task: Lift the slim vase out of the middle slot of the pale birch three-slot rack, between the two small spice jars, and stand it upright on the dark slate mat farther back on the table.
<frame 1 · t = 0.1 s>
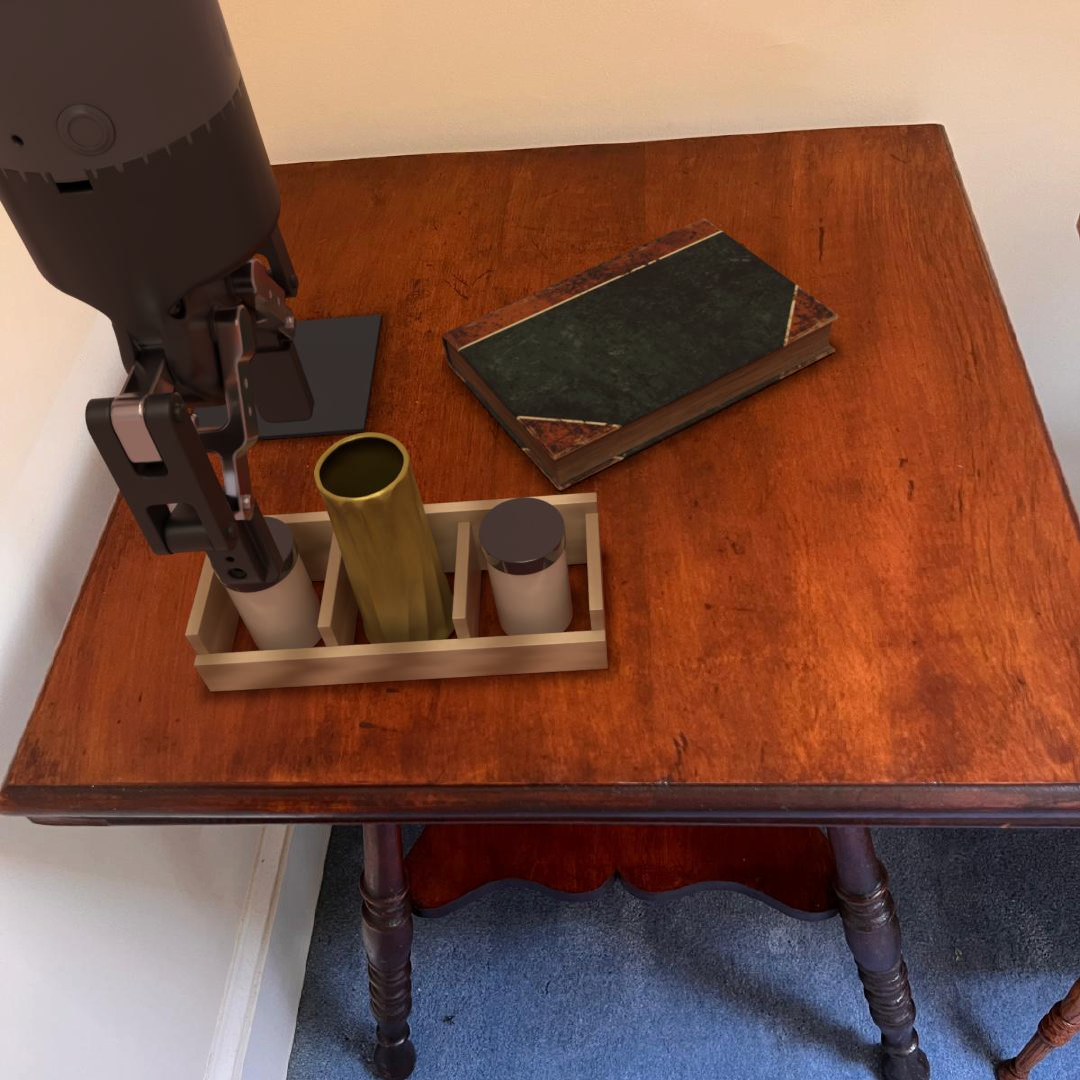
hand: (274, 491, 41), 24 cm above the table, tool pointing down, fingers open, 8 cm apart
vase: (412, 622, 67), resting in rack
mat: (288, 378, 84), on the table
spice jar left: (290, 628, 67), resting in rack
book: (636, 361, 81), on the table
rack: (411, 620, 66), on the table
spice jar right: (535, 612, 66), resting in rack
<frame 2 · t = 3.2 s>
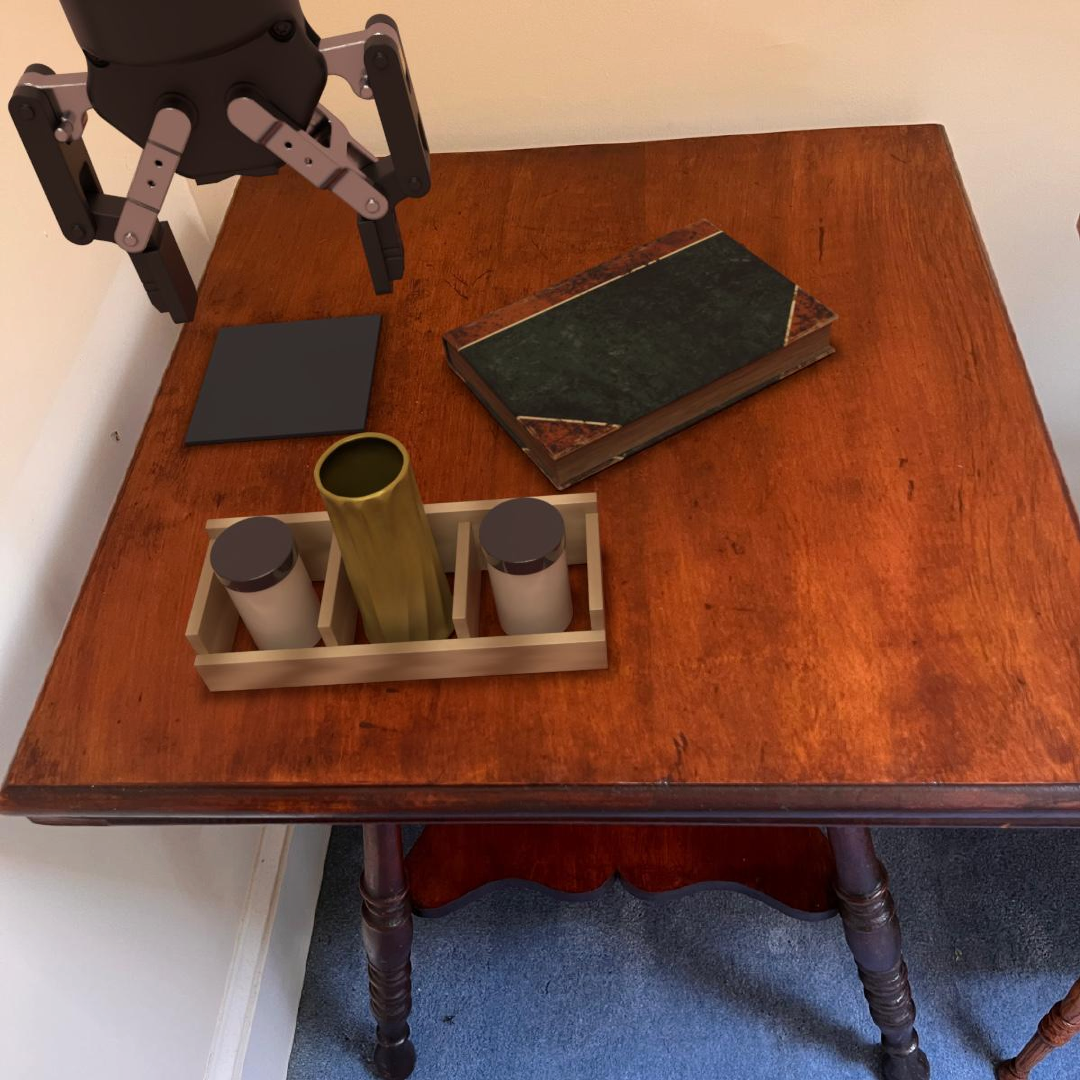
hand: (286, 298, 44), 27 cm above the table, tool pointing down, fingers open, 8 cm apart
nothing on the table moved.
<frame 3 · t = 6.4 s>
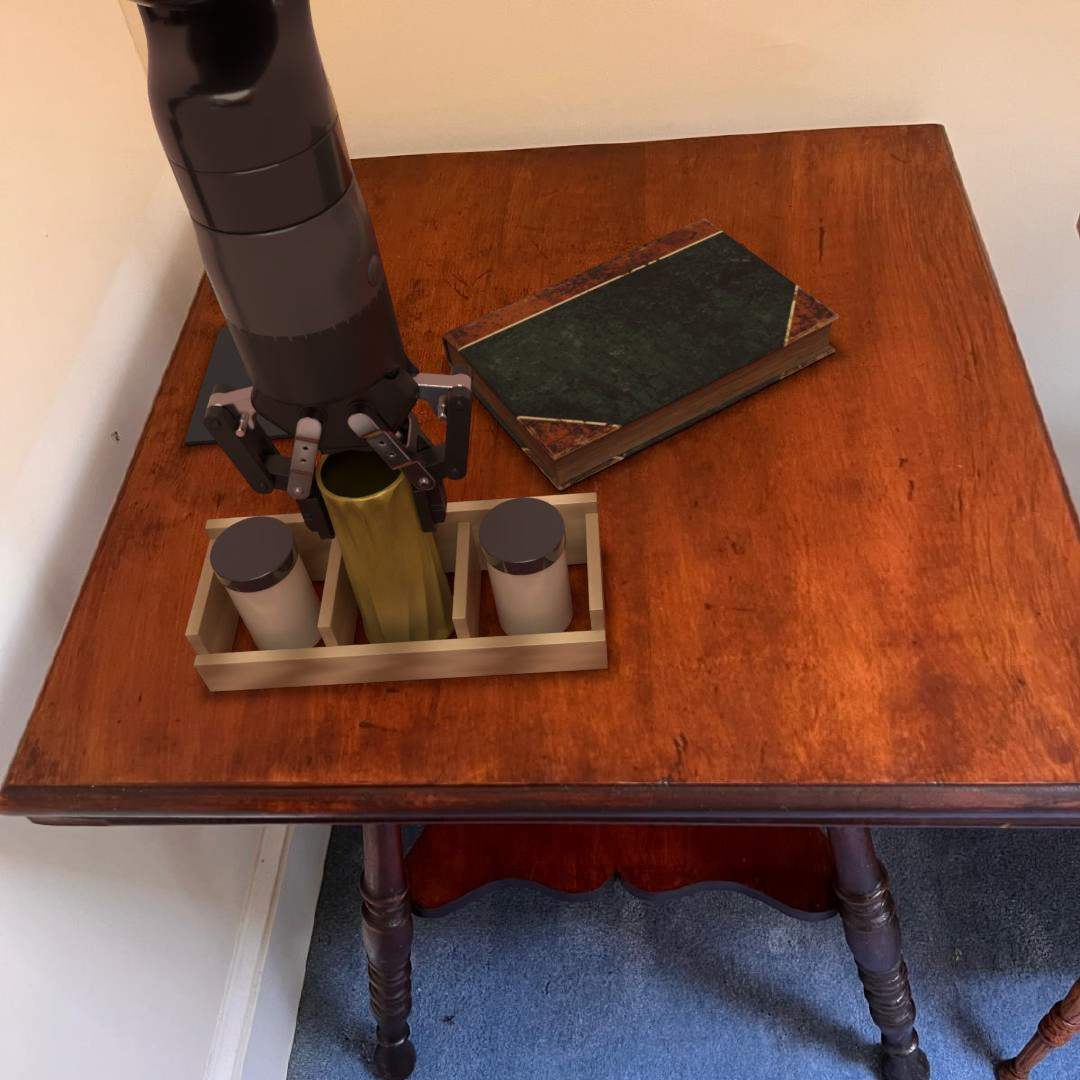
hand: (380, 523, 59), 9 cm above the table, tool pointing down, fingers closed on vase, 5 cm apart
vase: (412, 622, 67), resting in rack, touching gripper
everything else where it was.
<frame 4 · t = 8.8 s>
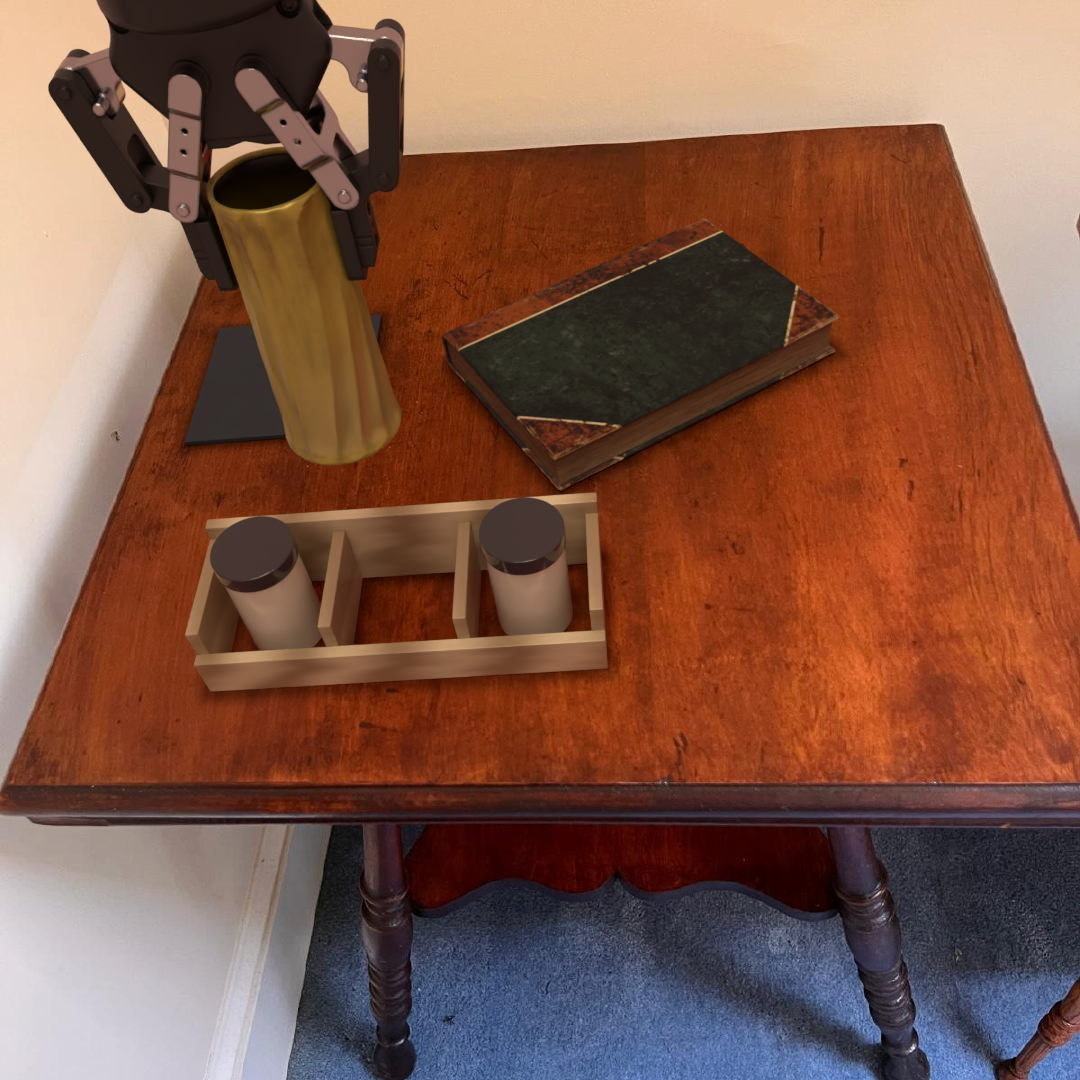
hand: (295, 274, 47), 26 cm above the table, tool pointing down, fingers closed on vase, 5 cm apart
vase: (345, 428, 54), point 17 cm above the table, touching gripper
everything else where it was.
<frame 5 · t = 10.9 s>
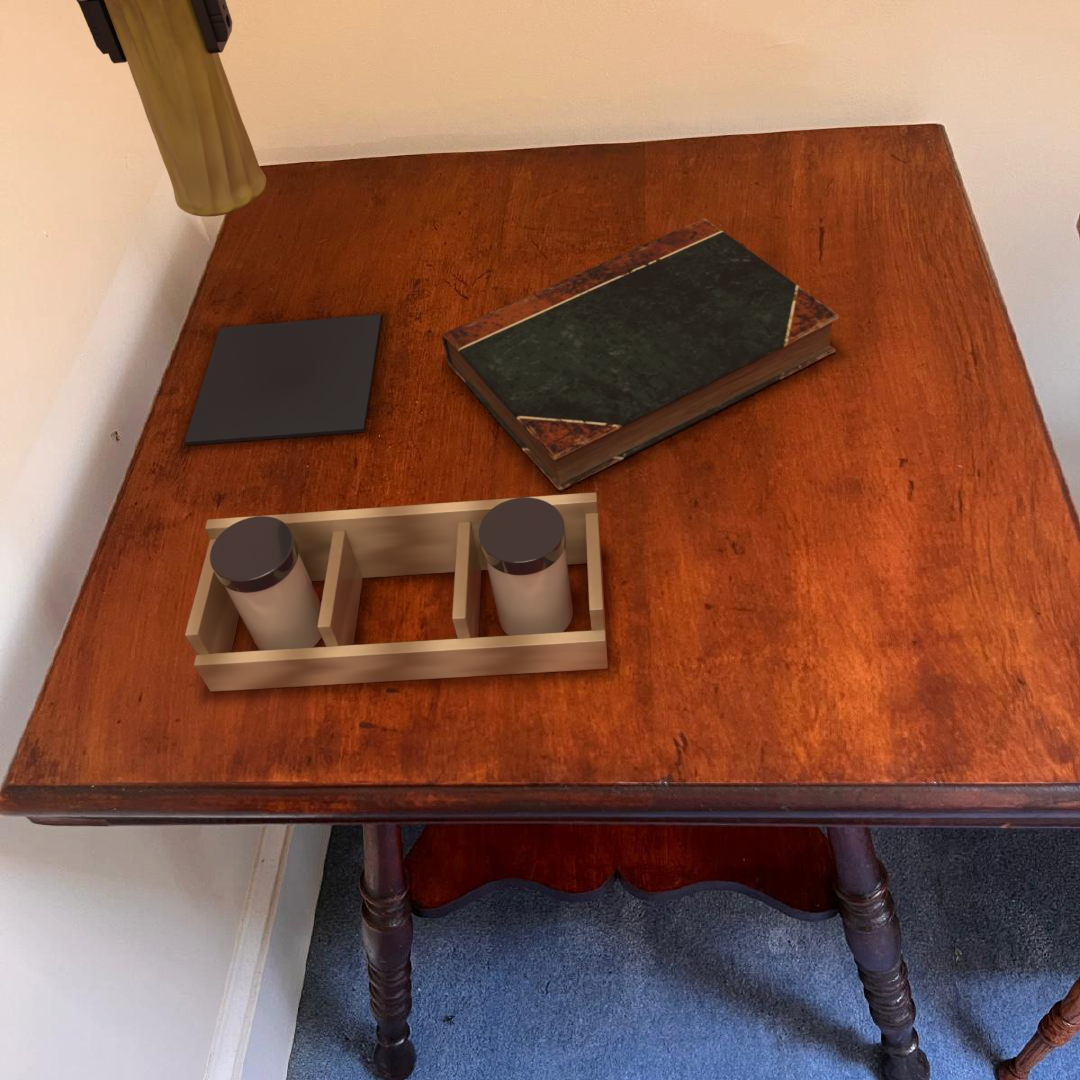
hand: (170, 51, 62), 27 cm above the table, tool pointing down, fingers closed on vase, 5 cm apart
vase: (223, 195, 69), point 17 cm above the table, touching gripper
everything else where it was.
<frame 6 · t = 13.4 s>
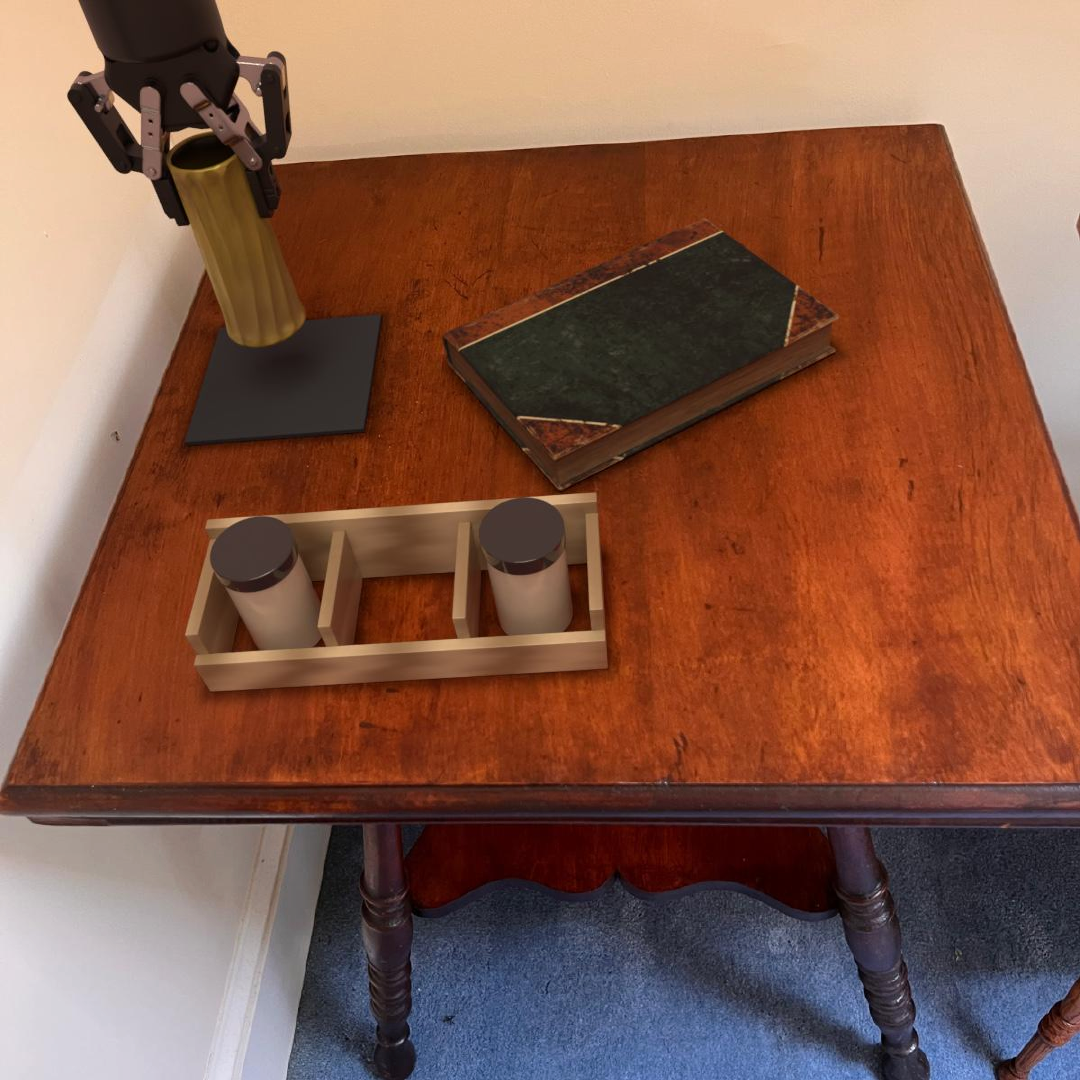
hand: (227, 215, 72), 15 cm above the table, tool pointing down, fingers closed on vase, 5 cm apart
vase: (268, 325, 79), point 5 cm above the table, touching gripper
everything else where it was.
when the fingers open (10 cm above the table, at t = 15.2 s): vase stays where it is, resting on mat.
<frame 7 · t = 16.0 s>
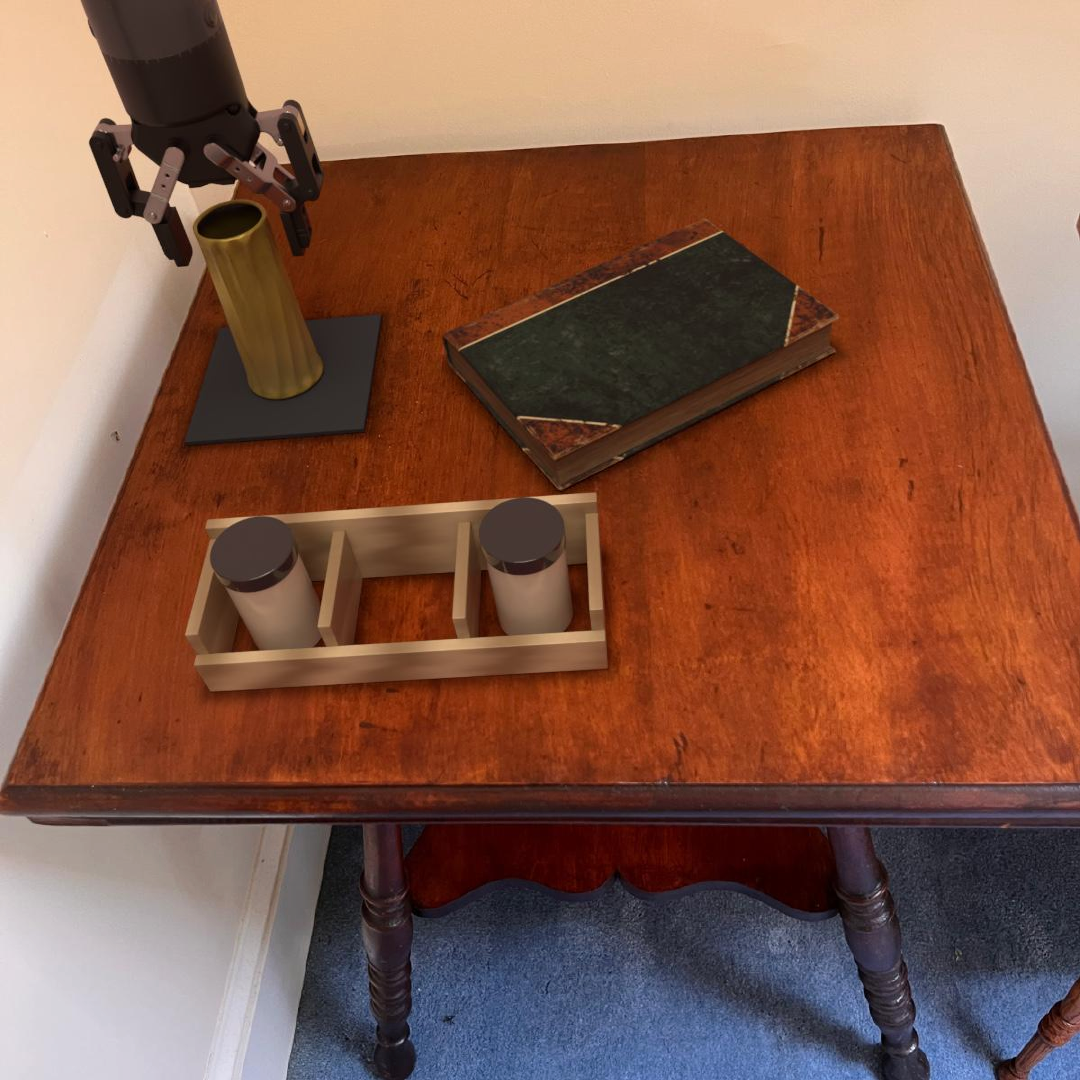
hand: (242, 255, 75), 12 cm above the table, tool pointing down, fingers open, 8 cm apart
vase: (287, 377, 83), resting on mat
everything else where it was.
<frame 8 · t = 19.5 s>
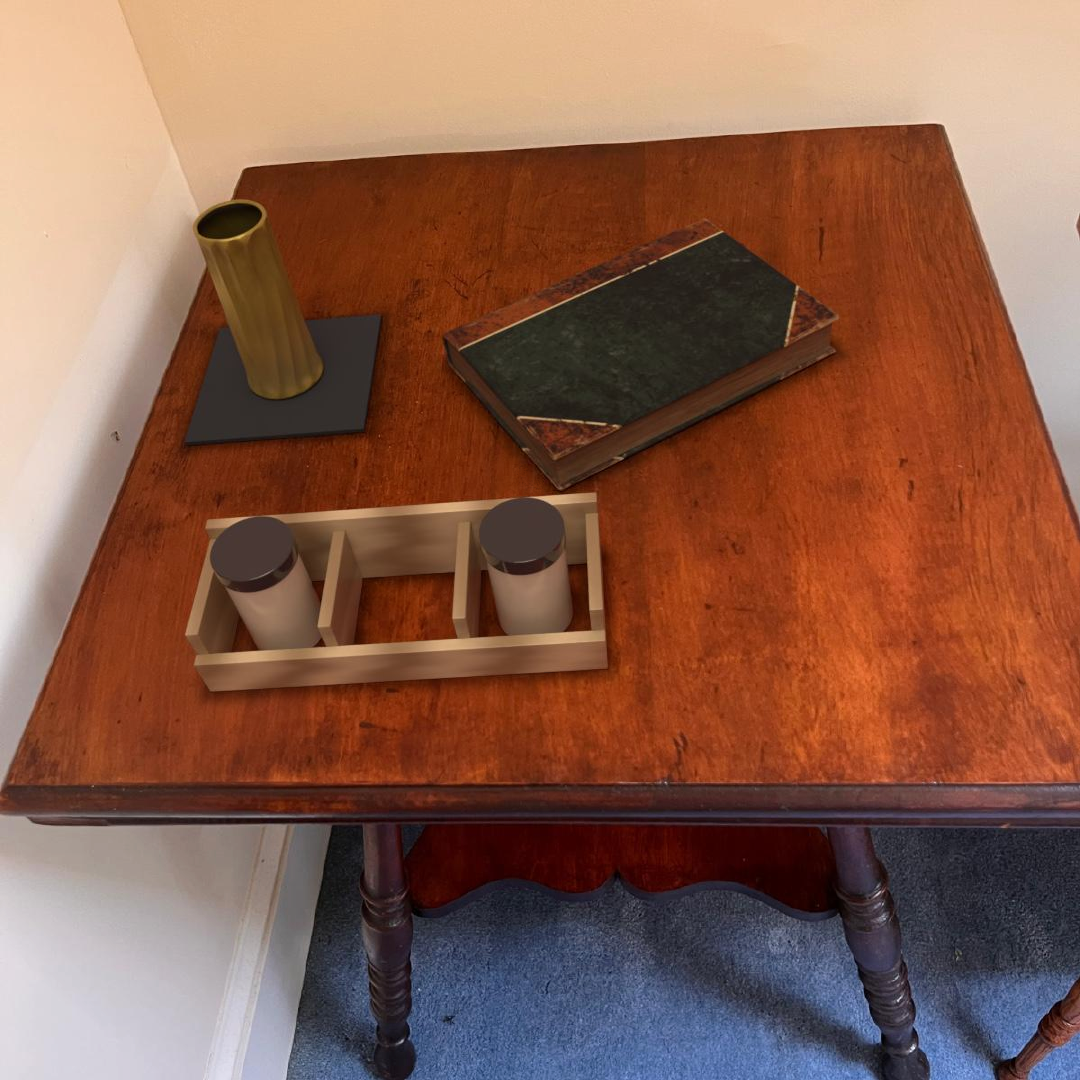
nothing on the table moved.
at the end: vase inside the target area on the mat (0.1 cm from its centre), point 0.2 cm above the mat's base; vase tilted 0°; the gripper is holding nothing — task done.
